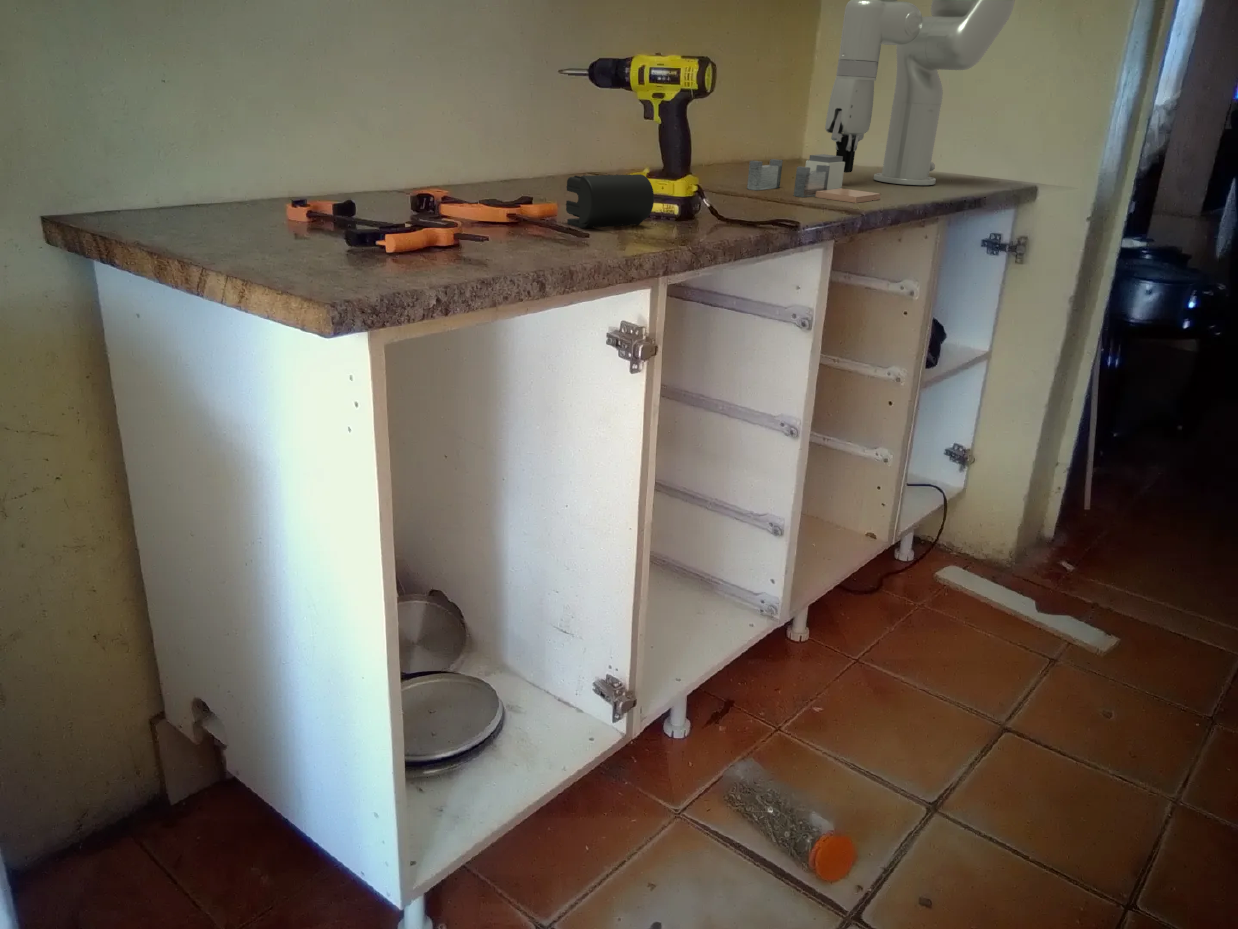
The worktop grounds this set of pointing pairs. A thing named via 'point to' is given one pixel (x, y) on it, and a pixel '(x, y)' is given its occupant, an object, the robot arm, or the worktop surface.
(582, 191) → the end cap
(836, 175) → the white box with lid
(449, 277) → the worktop surface
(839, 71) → the robot arm
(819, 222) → the worktop surface
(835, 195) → the pad
